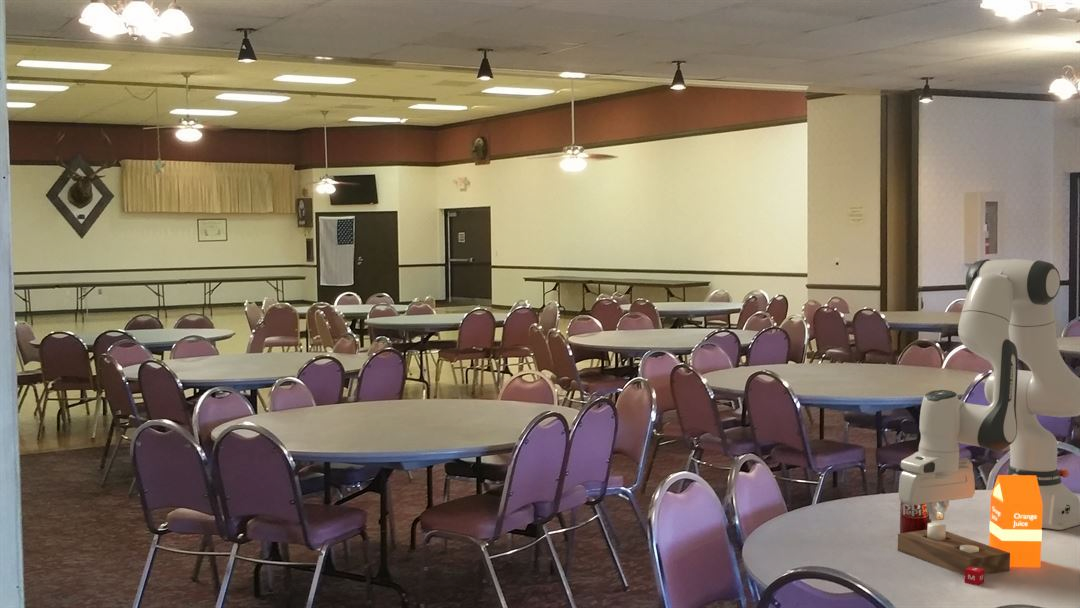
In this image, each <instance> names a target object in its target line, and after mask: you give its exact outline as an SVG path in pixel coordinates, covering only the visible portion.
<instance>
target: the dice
mask: <svg viewBox="0 0 1080 608" xmlns="http://www.w3.org/2000/svg"><path fill="white" fill-rule="evenodd" d="M985 577H986V575H985V569H982V568H977V567H973V566H971V567H968V568H966V569H965V576H964V583H965V584H970V585H974V586H980V585H982V584H984V583H985Z"/></svg>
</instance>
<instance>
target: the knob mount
mask: <svg viewBox="0 0 1080 608" xmlns="http://www.w3.org/2000/svg"><path fill="white" fill-rule="evenodd" d="M961 545H973V546H976V547H978V548H979V552H973V553H968V552H965V551H962V550H960V546H961ZM897 551H898V552H901V553H902V554H906V555H909V556H911V557H914V558H917V559H919V560H922V561H924V562H927V563H930V564H932V565H935V566H937V567H940V568H943V569H946V570H948V571H951V572H954V573H956V574H959V575H962V576H964V577H965V569H966V568H968V567H971V566H973V567H977V568H982V569H985V576H986V575H991V574H997V573H1003V572H1009V571H1011V570H1010V569H1011V567H1010V553H1009V552H1006V551H1003V550H1000V549H997V548H994V547H991V546H989V544H985V543H982V542H979V541H977V540H973V539H970V538H967V537H965V536H962V535H958V534H955V533H953V532H950V531H946V538H945V540H941V541H934V540H931V539H928V538H927V530H921V531H914V532H907V533H900V532H899V533H897Z"/></svg>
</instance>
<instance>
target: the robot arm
mask: <svg viewBox="0 0 1080 608" xmlns="http://www.w3.org/2000/svg"><path fill="white" fill-rule="evenodd" d="M1060 287H1061V277H1060V272H1059V270H1058V269H1057V267H1056V266H1055V265H1054V264H1053V263H1051V262H1049V261H1044V260H1031V259H1023V258H1010V259H1007V258H1006V259H992V260H991V259H989V258H987V259H981V260H977V261H975V262H974V263H973V264H971V266H970V267H969V268H968V269H967V272H966V275H965V288H966V291H967V294H966V297H965V299H964V303H963V305H962V310H961V313H960V316H959V322H958V325H957V326H958V327H957V333H958V338H959V340H960V341H961V343H962V345H963V346H964V347H965V348H966V349H967V350H969V352H971V353H973V354H974V355H976V356H979V357H980V358H982V359H983V360H985V361H987V362H989V363H990V364H991V366H992V369H993V372H991V373H990V374H989V376H988V377H987V378H986V381H984V387H983V389H984V396H985V399H986V401H987V403H988V404H989V405H982V404H977V403H976V404H974V403H970V402H965V401H963V400H961V399H959V395H958V394H957V392H955V391H952V390H947V389H937V390H931V391H928V392H927V393H925V394H924V395H923V397H922V401H921V406H920V412H919V413H920V414H919V427H918V428H919V433H920V441H919V444H918V451H916V452H914V453H913V454H911V455H910V456H907V457H906V458H904V459H901V462H900V468H901V469H902V470H903V471H901V473H900V475H899V482H898V499H899V500H900V503H901V502H902V503H905V504H908V505H918V504H926V507H927V509H928V511H929V519H930V520H932V521H931V522H937V521H944V520H945V513H946V512H947V510H948V508H949V505H950V501H956V500H963V499H965V500H966V499H971V498H972V499H973V497H974V495H975V493H976V485H975V484H976V482H975V473H974V471H973V470H974V469H973V468H974V466H973V465H974V464H973V463H972V461H971V459H969V458H967V457H964V458H963V457H962V458H960V445H959V444H962V445H967V446H973V447H974V446H975V447H979V448H980V447H981V448H982V449H985V450H990V451H993V452H1001V451H1003V450H1005V449H1006V448H1008V447H1009V449H1010V450H1009V456H1010V457H1009V464H1008V466H1007V475H1030V476H1036V477H1037V482H1038V486H1039V491H1040V495H1041V499H1042V503H1043V507H1042V529H1049V530H1057V531H1061V530H1066V529H1070V528H1072V527H1076V526H1080V498H1079V497H1078V496H1077V495H1076V494H1075V493H1073V491H1071V489H1069V488H1068V487H1067V486H1066V485H1064V483H1062V478H1061V477H1063V478H1064V479H1065V478H1068V476H1069V475H1070V472H1069V470H1068V469H1064V468H1059V469H1058V468H1057V466H1058V440H1057V439H1056V436H1055V435H1054V434H1053V433H1052V432H1051V431H1049V430H1048V429H1046V428H1045V427H1043V425H1042V424H1041V423H1040V421H1039V420H1038V416H1037V415H1039V416H1046V417H1053V418H1055V417H1056V418H1071V417H1079V416H1080V377H1079V376H1077V375H1076V374H1075V373H1074V372H1073V371H1072V370H1071V369H1070V367H1069V366H1068V365H1067V364H1066V362H1065V361H1064V359H1063V357H1062V355H1061V352H1060V349H1059V346H1058V339H1057V338H1058V337H1057V332H1056V317H1055V315H1056V314H1055V307H1054V301H1053V300H1054V299H1055V298H1056V296H1057V295H1058V293H1059V290H1060ZM1019 360H1020V361H1021V362H1023V363H1024V364H1025V365H1027V367H1028V368H1029V370H1023V369H1019Z"/></svg>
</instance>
